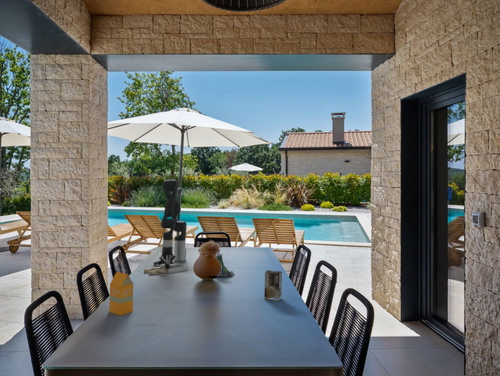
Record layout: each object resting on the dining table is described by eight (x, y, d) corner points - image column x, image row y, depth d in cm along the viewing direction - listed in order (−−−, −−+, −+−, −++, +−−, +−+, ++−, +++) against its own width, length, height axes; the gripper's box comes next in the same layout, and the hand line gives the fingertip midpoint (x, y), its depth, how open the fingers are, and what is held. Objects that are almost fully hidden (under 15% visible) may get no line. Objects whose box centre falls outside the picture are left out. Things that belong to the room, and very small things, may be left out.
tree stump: (240, 275, 275) (237, 253, 271) (219, 286, 262) (216, 263, 258) (224, 269, 288) (221, 247, 284) (203, 279, 275) (200, 257, 271)
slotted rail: (161, 270, 282) (161, 266, 282) (167, 272, 275) (167, 269, 275) (144, 272, 273) (144, 269, 273) (149, 275, 266) (149, 271, 266)
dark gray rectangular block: (173, 269, 285) (173, 264, 285) (175, 270, 282) (175, 265, 282) (168, 270, 283) (168, 264, 283) (170, 271, 280) (170, 265, 280)
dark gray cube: (177, 268, 288) (177, 263, 288) (180, 269, 285) (180, 264, 285) (173, 269, 285) (173, 264, 285) (175, 270, 282) (175, 265, 282)
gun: (150, 247, 296) (168, 242, 299) (155, 268, 297) (174, 263, 299) (149, 248, 294) (168, 243, 296) (154, 269, 295) (173, 264, 297)
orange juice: (120, 315, 187) (121, 275, 187) (108, 311, 192) (109, 272, 191) (132, 311, 194) (133, 272, 193) (121, 307, 198) (122, 270, 198)
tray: (178, 266, 294) (178, 263, 294) (187, 270, 284) (187, 266, 284) (160, 269, 284) (160, 265, 284) (168, 273, 274) (168, 269, 274)
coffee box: (281, 298, 223) (282, 271, 222) (278, 301, 216) (279, 273, 216) (266, 296, 225) (267, 269, 225) (263, 299, 219) (264, 272, 219)
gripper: (173, 244, 287) (172, 266, 287) (157, 245, 278) (156, 269, 279) (177, 245, 281) (177, 268, 282) (161, 247, 273) (161, 271, 273)
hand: (166, 268), depth 280 cm, fingers closed
